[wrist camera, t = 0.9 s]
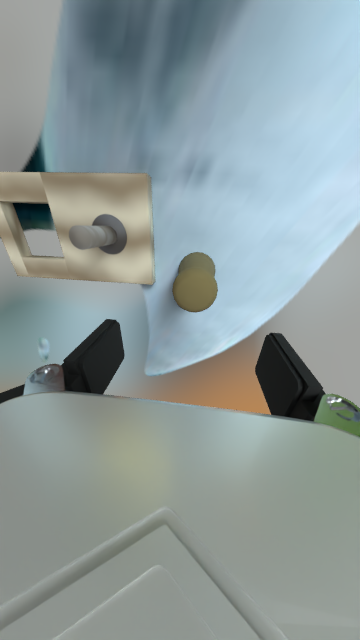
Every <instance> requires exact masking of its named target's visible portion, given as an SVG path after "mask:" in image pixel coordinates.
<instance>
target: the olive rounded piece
mask: <svg viewBox="0 0 360 640" xmlns="http://www.w3.org/2000/svg"><path fill="white" fill-rule="evenodd" d="M178 274H179V275H178V276H177V277H176V279H175V281H174V283H173V290H172V292H173V296H174V300H175V301H176V303H177V304H178V305H179V306H180V307H181V308H182V309H184V310H186V311H189V312H201V311H203V310H205V309H207V308H209V307H210V306H211V305H212V304H213V302H214V300H215V299H216V296H217V291H218V289H217V283H216V280H215V278H214V276H215V265H214V263H213V261H212V259H211V258H210V257H209V256H208V255H206V254H204V253H200V252H195V253H190V254H189V255H187V256H185V257H184V259H183V260H182V261H181V263H180V265H179V272H178Z"/></svg>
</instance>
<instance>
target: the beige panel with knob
mask: <svg viewBox="0 0 360 640" xmlns="http://www.w3.org/2000/svg"><path fill="white" fill-rule="evenodd" d="M13 203H42V204H49V207H50V210H51V214H52V217H53V221H54V224H55V227H56V231H57V234H58V238H59V241H60V244H61V248H62V252H63V255H64V257H52V256H33V255H32V254H31V252H30V249H29V246H28V244H27V241H26V238H25V235H24V233H23V230H22V227H21V225H20V222H19V219H18V217H17V214H16V211H15V209H14V206H13ZM0 237H1V239H2V241H3V243H4V246H5V248H6V250H7V253H8V255H9V257H10V260H11V262H12V264H13V266H14V268H15V271H16V273H17V276H26V277H43V278H57V279H58V278H59V279H73V280H89V281H104V282H120V283H135V284H150V285H153V283H154V282H155V262H154V237H153V213H152V189H151V177H150V176H149V175H148V174H147V173H64V172H0Z"/></svg>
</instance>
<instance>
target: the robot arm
mask: <svg viewBox="0 0 360 640" xmlns="http://www.w3.org/2000/svg"><path fill="white" fill-rule="evenodd" d="M123 359H124V349H123V343H122V337H121V330H120V324H119V323H118V322H117V321H116V320H111V319H106V320H105V321H104V322H103V323H102V324H101V325H100V326H99V327H98V328H97V329H96V330H95V331H94V332H92V334H91V335H89V336H88V337H87V338H86V339H85V340H84V341H83V342H82V343H81V344H80V345H79V346H78V347H77V348H76V349H75V350H74V351H73V352H72V353H71V354H69V355H68V357H66V358H65V359H64V363H63V364H62V365H59V364H49V365H45V366H42V367H40V368H38V369H36V370H34V371H33V372H32V373H30V374H29V376H28V377H27V379H26V381H25V384H24V385H21V386H18V387H16V388H13V389H10V390H8V391H5V392H2V393H0V640H360V408H359V407H358V406H357V405H355V404H354V403H353V402H351V401H349V400H348V399H346V398H344V397H341V396H339V395H335V394H325V392H324V391H323V390H322V389H323V387H322V386H321V384H320V383H319V382H318V381H317V379H316V378H315V377H314V375H313V374H312V373H311V371H310V370H309V369H308V368H307V366H306V365H305V364H304V362H303V361H302V360H301V359H300V357H299V356H298V355H297V354H296V352H295V351H294V349H293V348H292V347H291V345H290V344H289V343H288V342H287V340H286V339H285V338H284V336H283V335H282V334H280V333H270V334H269V335H266V337H265V340H264V343H263V346H262V350H261V353H260V356H259V359H258V361H257V365H256V368H255V372H256V375H257V378H258V381H259V383H260V385H261V388H262V391H263V393H264V396H265V399H266V402H267V404H268V407H269V409H270V412H271V415H268V414H261V413H253V412H245V411H237V410H230V409H222V408H214V407H206V406H198V405H189V404H181V403H173V402H164V401H156V400H147V399H139V398H130V397H121V396H112V395H103V393H104V391H105V390H106V388H107V386H108V385H109V383H110V381H111V380H112V378H113V376H114V375H115V373H116V371H117V369H118V368H119V366H120V364H121V362H122V361H123Z"/></svg>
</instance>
